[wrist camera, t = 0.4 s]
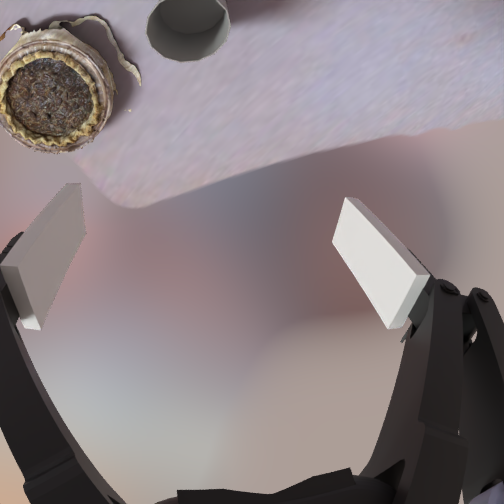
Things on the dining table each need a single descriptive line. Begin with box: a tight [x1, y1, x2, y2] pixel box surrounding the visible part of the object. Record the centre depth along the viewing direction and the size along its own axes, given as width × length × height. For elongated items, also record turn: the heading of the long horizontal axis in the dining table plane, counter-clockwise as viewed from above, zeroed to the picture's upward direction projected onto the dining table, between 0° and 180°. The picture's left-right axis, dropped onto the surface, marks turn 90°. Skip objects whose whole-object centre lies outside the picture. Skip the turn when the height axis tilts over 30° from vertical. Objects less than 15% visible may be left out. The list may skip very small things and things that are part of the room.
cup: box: [145, 0, 231, 63], centre depth 26 cm, size 8×8×10 cm
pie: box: [0, 16, 141, 154], centre depth 33 cm, size 28×27×5 cm
